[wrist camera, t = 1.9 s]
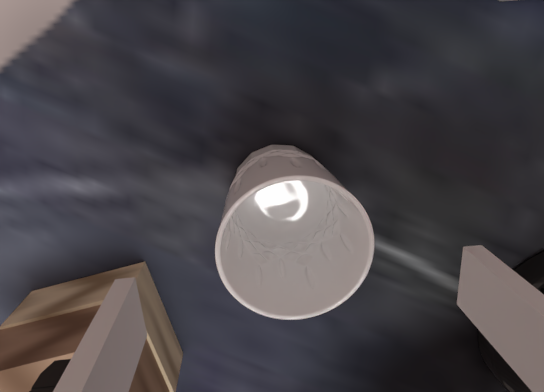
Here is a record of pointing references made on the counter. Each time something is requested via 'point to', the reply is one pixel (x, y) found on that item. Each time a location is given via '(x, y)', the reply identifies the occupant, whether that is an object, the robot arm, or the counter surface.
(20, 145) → the counter surface
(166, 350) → the tower bottom
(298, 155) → the white cup
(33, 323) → the tower top
